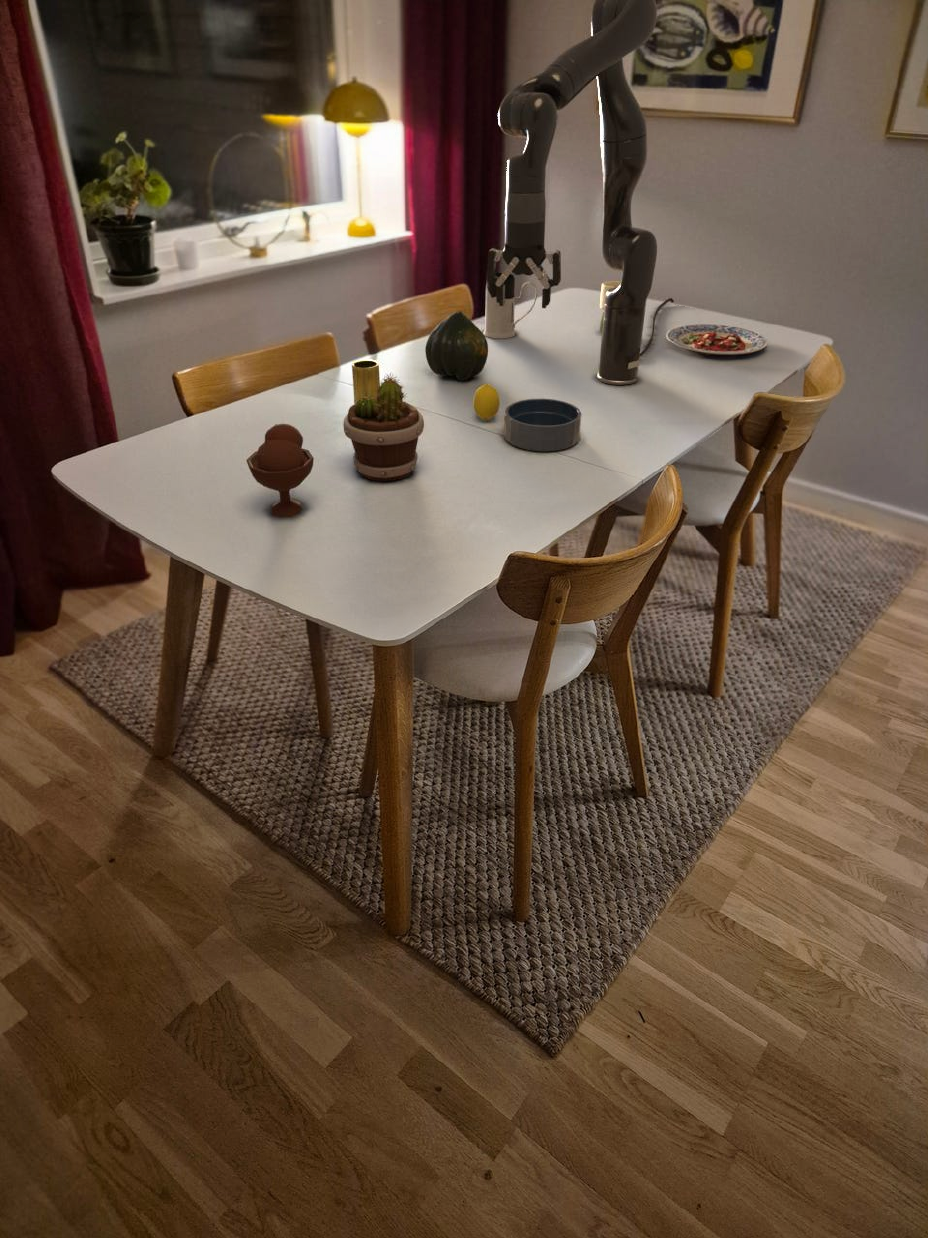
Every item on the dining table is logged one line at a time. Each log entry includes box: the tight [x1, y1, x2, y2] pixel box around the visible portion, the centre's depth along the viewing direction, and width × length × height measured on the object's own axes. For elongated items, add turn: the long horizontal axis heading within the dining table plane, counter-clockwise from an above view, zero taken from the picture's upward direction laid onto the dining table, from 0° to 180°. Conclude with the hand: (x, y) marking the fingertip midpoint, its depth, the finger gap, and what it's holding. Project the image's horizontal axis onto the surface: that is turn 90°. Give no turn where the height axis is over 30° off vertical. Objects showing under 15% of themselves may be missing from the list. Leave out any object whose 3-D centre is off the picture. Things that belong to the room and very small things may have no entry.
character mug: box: [598, 280, 621, 333], centre depth 227 cm, size 11×7×13 cm, turn 146°
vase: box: [351, 359, 381, 405], centre depth 169 cm, size 6×6×14 cm
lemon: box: [472, 383, 500, 422], centre depth 177 cm, size 6×6×8 cm
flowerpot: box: [342, 372, 425, 482], centre depth 153 cm, size 14×15×20 cm
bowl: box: [503, 398, 582, 453], centre depth 170 cm, size 15×15×6 cm
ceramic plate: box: [666, 323, 769, 357], centre depth 221 cm, size 26×26×3 cm
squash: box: [424, 310, 489, 381], centre depth 200 cm, size 14×15×15 cm
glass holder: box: [482, 272, 538, 339], centre depth 226 cm, size 9×14×15 cm, turn 82°
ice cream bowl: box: [245, 423, 315, 518], centre depth 141 cm, size 11×11×15 cm
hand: (522, 306), depth 167 cm, fingers open, 8 cm apart
